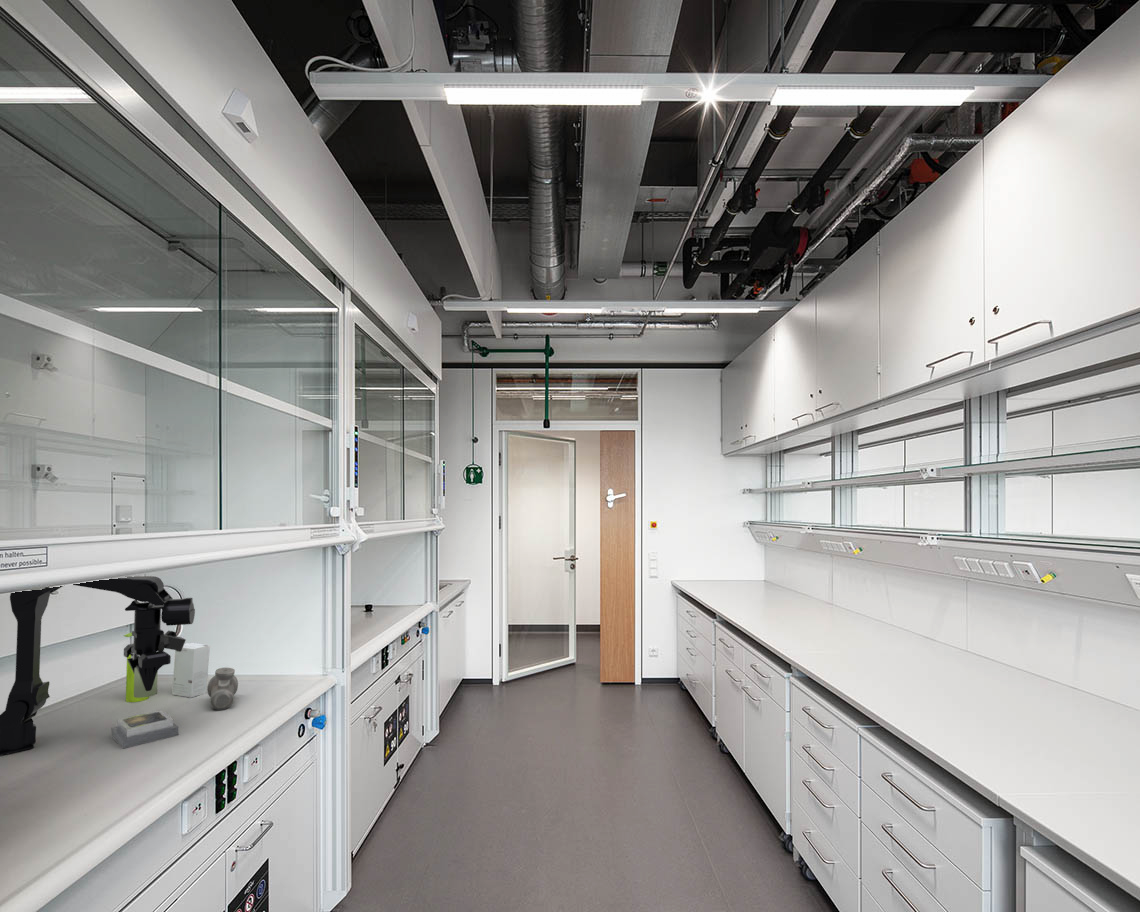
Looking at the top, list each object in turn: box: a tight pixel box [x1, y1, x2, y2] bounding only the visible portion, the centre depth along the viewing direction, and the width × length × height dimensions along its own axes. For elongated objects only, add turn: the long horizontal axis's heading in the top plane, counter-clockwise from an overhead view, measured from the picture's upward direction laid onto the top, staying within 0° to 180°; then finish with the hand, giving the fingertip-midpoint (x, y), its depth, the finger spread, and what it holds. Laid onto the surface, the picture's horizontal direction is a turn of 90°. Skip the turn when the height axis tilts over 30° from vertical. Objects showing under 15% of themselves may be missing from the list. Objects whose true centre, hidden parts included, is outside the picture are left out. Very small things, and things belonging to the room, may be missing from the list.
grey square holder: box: [110, 709, 180, 749], centre depth 167 cm, size 12×12×4 cm
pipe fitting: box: [207, 667, 239, 711], centre depth 190 cm, size 12×8×10 cm
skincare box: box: [171, 642, 211, 699], centre depth 201 cm, size 8×6×15 cm
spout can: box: [134, 667, 159, 698], centre depth 167 cm, size 5×5×9 cm
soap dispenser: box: [123, 631, 150, 703], centre depth 196 cm, size 6×7×20 cm
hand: (145, 688), depth 167 cm, fingers closed on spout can, 5 cm apart
